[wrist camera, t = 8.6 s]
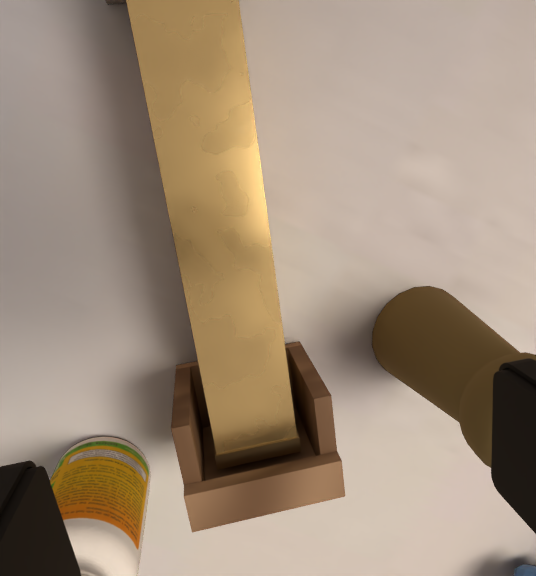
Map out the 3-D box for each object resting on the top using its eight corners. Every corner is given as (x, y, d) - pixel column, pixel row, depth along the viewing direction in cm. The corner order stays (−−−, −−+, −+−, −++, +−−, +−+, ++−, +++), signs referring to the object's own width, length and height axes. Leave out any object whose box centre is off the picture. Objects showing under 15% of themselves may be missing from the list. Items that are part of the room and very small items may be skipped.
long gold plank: (216, -82, 19) (222, -144, 15) (284, 406, 26) (301, 451, 22) (116, -73, 19) (95, -137, 15) (213, 421, 26) (217, 469, 22)
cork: (351, 341, 27) (453, 457, 16) (422, 265, 26) (574, 336, 16) (415, 396, 29) (543, 532, 18) (483, 326, 28) (656, 426, 18)
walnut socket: (299, 341, 26) (335, 403, 20) (308, 415, 28) (345, 496, 21) (176, 365, 25) (170, 438, 19) (192, 440, 27) (191, 532, 20)
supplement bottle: (52, 435, 25) (-27, 592, 16) (150, 431, 26) (128, 578, 17) (59, 514, 27) (-11, 699, 18) (151, 507, 28) (131, 681, 19)
